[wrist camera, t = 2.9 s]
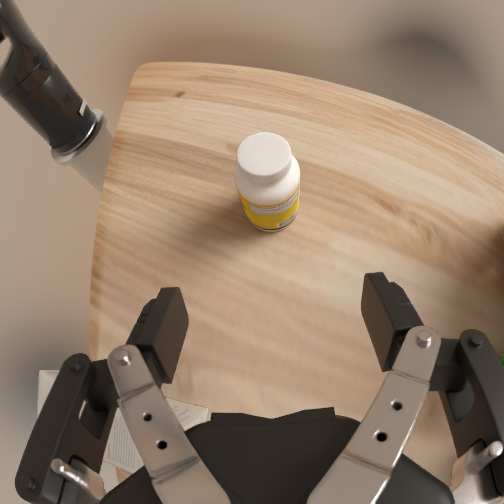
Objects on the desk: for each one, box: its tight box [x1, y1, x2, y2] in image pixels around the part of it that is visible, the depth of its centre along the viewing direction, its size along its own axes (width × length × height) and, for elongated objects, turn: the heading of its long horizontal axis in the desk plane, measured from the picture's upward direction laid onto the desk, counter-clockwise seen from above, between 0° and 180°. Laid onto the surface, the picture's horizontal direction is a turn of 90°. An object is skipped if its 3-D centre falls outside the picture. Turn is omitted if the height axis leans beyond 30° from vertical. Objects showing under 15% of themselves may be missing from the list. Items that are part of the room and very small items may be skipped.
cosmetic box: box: [37, 370, 208, 474], centre depth 21 cm, size 8×6×15 cm
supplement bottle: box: [234, 132, 300, 232], centre depth 25 cm, size 5×5×10 cm
